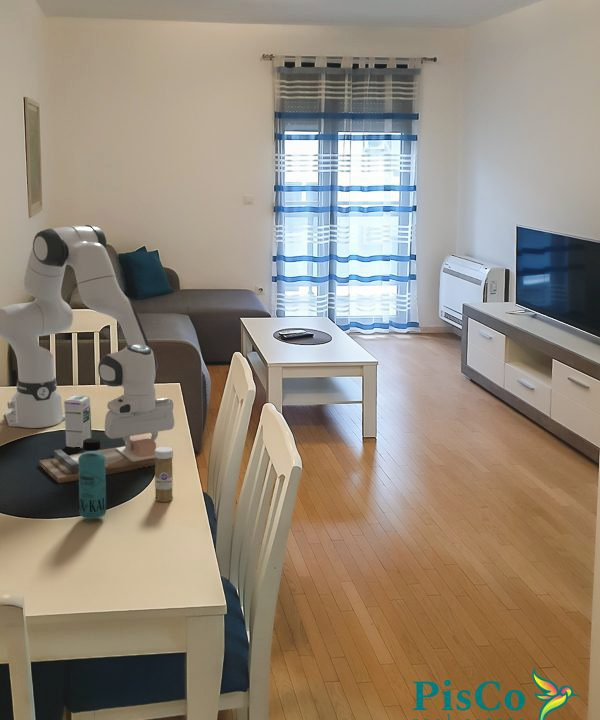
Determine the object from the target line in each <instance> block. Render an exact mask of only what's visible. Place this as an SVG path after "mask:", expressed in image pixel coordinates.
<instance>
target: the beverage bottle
mask: <svg viewBox="0 0 600 720" xmlns="http://www.w3.org/2000/svg"><path fill="white" fill-rule="evenodd" d="M101 448H102V446H101V440H100V438H96V437H92V438H88V439H85V440H84V441H83V448H82V450H83V451H84V452H82V453H83V454H82V455H80V457H79V458H78V461H79V478H78V479H79V480H77V481H78V511H79V515H80V517H82V518H86V519H97V518H101V517H103V516H105V515H106V512H107V507H108V506H107V480H106V479H107V478H106V475H105V456H104V455H103V454H102V453H100V452H98V450H101Z"/></svg>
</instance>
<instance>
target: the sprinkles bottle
mask: <svg viewBox="0 0 600 720" xmlns="http://www.w3.org/2000/svg"><path fill="white" fill-rule="evenodd" d="M173 456H174V450H173V449H172V447H168V446H159V447H156V449H155V458H154V459H155V466H154V487H155V488H154V490H155V491H154V493H155V494H154V495H155V497H154V499H155V501H157V502H160V503H168V502H171V501H172V500H173V498H174V497H173V486H174V485H173V484H174V482H173Z"/></svg>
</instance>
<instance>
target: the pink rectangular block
mask: <svg viewBox="0 0 600 720" xmlns="http://www.w3.org/2000/svg"><path fill="white" fill-rule="evenodd" d="M128 441H129V442H130V443H132V444H133V445H134V447H133V448H134V450H131V451H128V450H127V448H126V443H125V442H124V443H125V444H124V446H125V447H122V446H118V447H119V448H116V447H115V448H116V450H117V451H118V452H120V453H121V454H123V455H124V456H125V457H127V458H128V459H130V460H131V461H132V462H135V461H140V460H146V459H151V458H153V459H155V449H156V448H157V442H156V441H152V440H151V439H150V438H149V437H148V436H146V435H145V434H140V435H134V436H130V440H128Z"/></svg>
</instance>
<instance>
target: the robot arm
mask: <svg viewBox="0 0 600 720" xmlns="http://www.w3.org/2000/svg"><path fill="white" fill-rule="evenodd" d="M107 245H108V244H107V239H106V235H105V233H104V231H103V230H102V229H101V228H100V227H98V226H95V225H90V224H85V225H66V226H61V227H56V228H46V229H43V230H40V231H39V232H37V233H36V234H35V236H34V239H33V241H32V248H31V250H30V254H29V257H28V261H27V266H26V269H25V275H24V279H23V285H24V289H25V290H26V292H27V293H28V294H29V295H30V296H32V297H34V300H33V301H31V302H24V303H23V302H22V303H13V304H9V305H6V306H4V307H0V338H1V339H3V340H5V341H6V342H7V343H8V344H9V345H10V346H11V348H12V350H13V351H14V355H15V357H16V361H17V362H16V363H17V375H18V379H17V381H16V392H15V393H14V394H13V396H12V397H11V400H10V401H7V409H9V410H6V411H4V416H5V419H6V422H7V424H8V427H19V428H26V429H27V428H28V429H37V428H47V427H48V428H49V427H52V426H55V425H58V424H61V422H62V421H65V412H63V402H62V394H61V393H60V392H58V391H57V385H58V384H57V382H58V381H57V378H56V376H55V358H54V355H53V353H52V352H51V351H50V350H49V349H47V348H45V347H42V346H40V344H39V339H38V337H44V336H50V335H57V334H60V333H62V332H64V331H68V330H69V329H70V328H71V326H72V324H73V321H74V313H73V312H74V311H73V309H72V307H71V306H70V304H68V303H67V301H65V300H64V299H63V297H62V286H63V282H64V275H65V273H66V272H65V271H66V269H67V268H66V266H68V265H69V266H70V267H71V268H72V269H73V271H74V275H75V276H74V277H75V279H76V284H77V285H76V286H77V290H78V293H79V296H80V299H81V301H82V302H83V304H84V305H85V306H86V307H87V308H89V310H91V311H93V312H96V313H99V314H103V315H106V316H110V317H111V318H113V319H114V320H116V322H117V323H118V324H119V325H120V328H121V330H122V333H123V335H124V338H125V340H126V344H127V345H126V346H125V347H124V348H123V349H121V350H119V351H117V352H116V351H115V352H111V353H108V354H106V355H102V357H101V358H100V360H99V362H98V368H97V369H98V371H97V372H98V376H99V379H100V381H101V382H102V383H103V384H104V385H106V386H108V387H115V388H116V387H122V388H123V394H121V396H118V397H117V398H114V399H113V400H110V401H108V402H107V405H106V406H107V409H108V411H107V413H106V414H105V419H104V434H105V435H106V436H107V437H108V438H109V439H111V440H116V439H121V438H122V440H123V441H124V443H126V448H127V450H128V451H131V450H134V448H133V447H134V445H133V444H132V443H130V442H129V441H128V440H130V436H134V435H140V434H143V435H146V434H151V436H150V438H149V439H151V440H152V441H154V442H156V440H157V438H158V436H159V433H160V432H164V431H169V430H171V431H172V429H174V427H175V416H174V401H173V400H172V399H170V398H167V397H165V398H158V399H156V388H155V379H156V373H157V370H158V365H159V364H158V359H157V357H156V353H155V352H154V351H153V349H152V347H151V346H150V343H149V341H148V339H147V337H146V334H145V331H144V329H143V326H142V323H141V320H140V318H139V316H138V313H137V311H136V309H135V306H134V303H133V301H132V300H131V299H130V297H128V296H127V295H125V293H124V292H123V290H122V289H121V287H120V285H119V283H118V280H117V277H116V273H115V270H114V265H113V264H112V261H111V258H110V255H109V254H108V251H107Z"/></svg>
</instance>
